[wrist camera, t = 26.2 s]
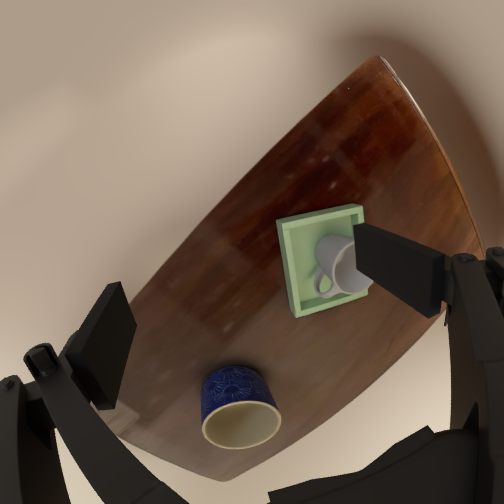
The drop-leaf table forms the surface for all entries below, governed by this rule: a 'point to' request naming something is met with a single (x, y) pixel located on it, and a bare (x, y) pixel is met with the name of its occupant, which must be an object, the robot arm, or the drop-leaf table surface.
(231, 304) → the drop-leaf table surface
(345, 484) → the robot arm
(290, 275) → the tray
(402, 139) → the drop-leaf table surface
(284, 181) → the drop-leaf table surface
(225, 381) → the planter
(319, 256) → the cup
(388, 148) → the drop-leaf table surface
